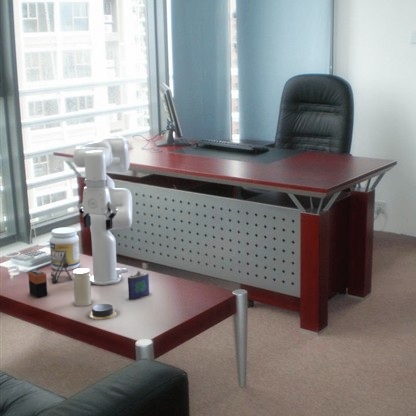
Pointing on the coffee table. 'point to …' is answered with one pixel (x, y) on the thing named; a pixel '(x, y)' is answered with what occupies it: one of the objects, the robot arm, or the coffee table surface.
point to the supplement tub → (64, 247)
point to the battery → (37, 283)
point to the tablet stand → (64, 265)
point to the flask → (138, 286)
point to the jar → (82, 287)
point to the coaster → (102, 317)
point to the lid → (102, 310)
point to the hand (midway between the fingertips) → (98, 227)
